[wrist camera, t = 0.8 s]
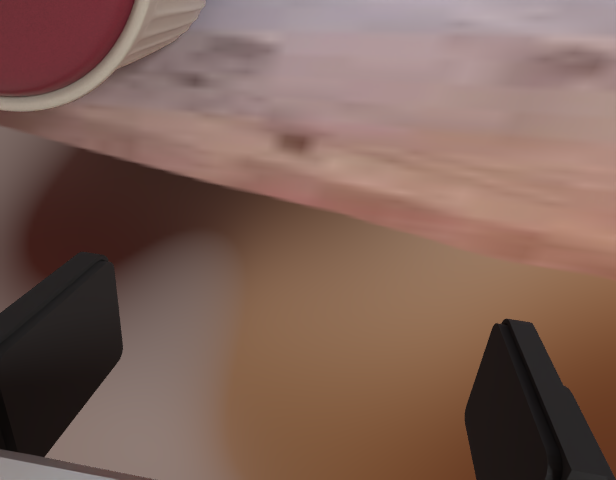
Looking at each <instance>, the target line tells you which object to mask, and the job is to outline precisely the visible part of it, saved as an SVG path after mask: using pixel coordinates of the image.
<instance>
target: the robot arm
mask: <svg viewBox="0 0 616 480" xmlns="http://www.w3.org/2000/svg"><path fill="white" fill-rule="evenodd" d="M122 350H123V345H122V334H121V326H120V317H119V307H118V299H117V290H116V280H115V272H114V265H113V264H112V263H111V262H108V259H107V257H106V256H104V255H100V254H93V253H87V252H80V253H78V254H77V255H75V256H74V257H73V258H71V259H70V260H69V261H67V262H66V263H65V264H64V265H62V266H61V267H60V268H58V269H57V270H56V271H54V272H53V273H52V274H51V275H49V276H48V277H47V278H45V279H44V280H43V281H42V282H40V283H39V284H37V285H36V286H35V287H34V288H32V289H31V290H30V291H28V292H27V293H26V294H24V295H23V296H22V297H21V298H19V299H18V300H17V301H16V302H14V303H13V304H11V305H10V306H9V307H8V308H6V309H5V310H4V311H2V312H1V313H0V480H156V479H151V478H146V477H142V476H136V475H131V474H126V473H121V472H116V471H111V470H106V469H101V468H96V467H90V466H86V465H81V464H75V463H70V462H65V461H60V460H54V459H50V458H45V455H46V454H47V453H48V452H49V450H50V449H51V448H52V446H53V445H54V444H55V442H56V441H57V440H58V439H59V437H60V436H61V435H62V434H63V432H64V431H65V430H66V428H67V427H68V426H69V424H70V423H71V422H72V420H73V419H74V418H75V417H76V415H77V414H78V412H80V410H81V409H82V408H83V406H84V405H85V404H86V403H87V401H88V400H89V399H90V397H91V396H92V395H93V393H94V392H95V391H96V389H97V388H98V387H99V386H100V384H101V383H102V382H103V381H104V379H105V378H106V376H107V375H108V374H109V373H110V372H111V370H112V369H113V368H114V366H115V365H116V364H117V362H118V361H119V359H120V357H121V355H122ZM465 425H466V430H467V435H468V440H469V445H470V450H471V455H472V460H473V464H474V470H475V474H476V479H477V480H616V479H615V477H614V475H613V473H612V471H611V469H610V467H609V465H608V463H607V461H606V459H605V457H604V456H603V454H602V452H601V450H600V448H599V446H598V444H597V442H596V440H595V438H594V436H593V434H592V432H591V430H590V428H589V426H588V424H587V422H586V420H585V418H584V416H583V414H582V412H581V410H580V408H579V406H578V404H577V402H576V400H575V398H574V396H573V394H572V393H571V391H570V390H569V389H568V388H567V387H565V386H563V384H562V382H561V380H560V378H559V376H558V374H557V372H556V370H555V368H554V366H553V364H552V362H551V360H550V357H549V356H548V353H547V352H546V349H545V347H544V345H543V343H542V341H541V339H540V337H539V335H538V333H537V331H536V329H535V327H534V325H533V324H532V323H530V322H524V321H518V320H512V319H505V320H503V322H502V323H501V324H497V323H496V324H495V325H494V326H493V328H492V331H491V334H490V337H489V340H488V343H487V346H486V349H485V352H484V355H483V358H482V361H481V364H480V367H479V370H478V373H477V376H476V379H475V382H474V385H473V388H472V391H471V394H470V397H469V400H468V403H467V406H466V410H465Z"/></svg>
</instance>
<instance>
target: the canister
mask: <svg viewBox="0 0 616 480" xmlns="http://www.w3.org/2000/svg"><path fill="white" fill-rule="evenodd" d="M205 4H206V0H0V110H3V111H13V112H30V111H40V110H46V109H50V108H55V107H58V106H62V105H65V104H68V103H70V102H73V101H75V100H77V99H79V98H81V97H83V96H85V95H86V94H88V93H89V92H91V91H93V90H94V89H95V88H97V87H98V86H99V85H101V84H102V83H103V82H104V81H105V80H106V79H107V78H108V77H109V76H110V75H112V73H113V72H114V71H115V70H116V69H118V68H121V67H123V66H125V65H128V64H130V63H132V62H135V61H137V60H139V59H141V58H143V57H145V56H147V55H149V54H151V53H153V52H155V51H157V50H159V49H161V48H162V47H164V46H166V45H168V44H170V43H172V42H174V41H175V40H176V39H177V38H178V37H179V36H180V35H181V34H183V33H184V32H186V31H187V30H188V29H189V27H190V25H191V24H192V23H193V22H194V21H196V20H197V18H198V15H199V13H200V11H201V10H202V8H203V7H205Z"/></svg>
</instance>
